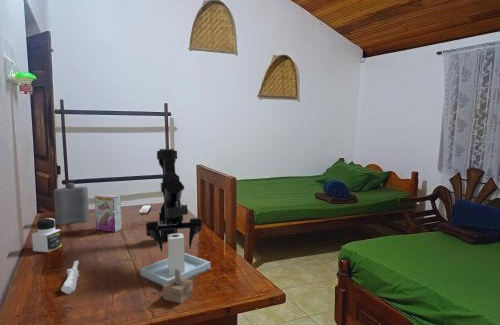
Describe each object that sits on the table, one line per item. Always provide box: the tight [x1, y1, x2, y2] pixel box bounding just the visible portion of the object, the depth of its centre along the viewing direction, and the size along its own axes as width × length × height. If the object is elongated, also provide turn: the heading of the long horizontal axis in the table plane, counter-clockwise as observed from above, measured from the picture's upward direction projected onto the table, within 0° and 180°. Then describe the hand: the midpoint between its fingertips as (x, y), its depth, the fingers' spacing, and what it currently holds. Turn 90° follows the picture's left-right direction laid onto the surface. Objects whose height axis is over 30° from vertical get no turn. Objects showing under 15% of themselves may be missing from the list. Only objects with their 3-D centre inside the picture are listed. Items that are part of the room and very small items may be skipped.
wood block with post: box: [162, 269, 194, 304], centre depth 96 cm, size 6×6×8 cm
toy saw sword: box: [60, 260, 81, 295], centre depth 108 cm, size 3×4×22 cm
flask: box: [53, 182, 90, 226], centre depth 169 cm, size 15×6×20 cm, turn 121°
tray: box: [140, 252, 211, 287], centre depth 112 cm, size 18×14×2 cm
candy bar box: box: [94, 193, 123, 233], centre depth 157 cm, size 11×5×16 cm, turn 71°
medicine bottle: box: [31, 217, 62, 253], centre depth 133 cm, size 7×7×12 cm
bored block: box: [167, 232, 185, 275], centre depth 112 cm, size 5×5×12 cm
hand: (176, 249), depth 111 cm, fingers open, 9 cm apart
